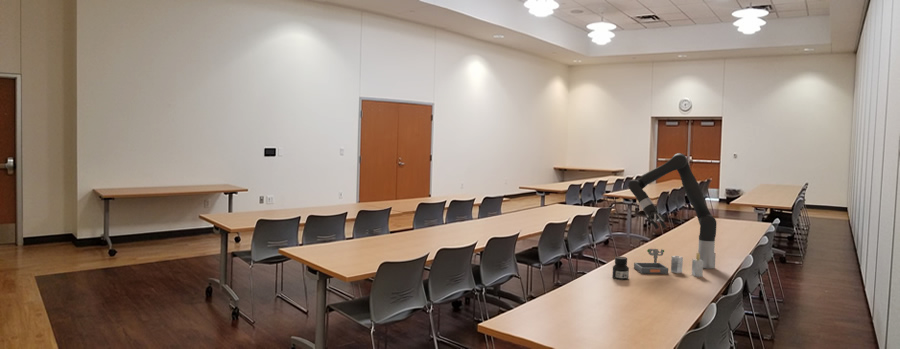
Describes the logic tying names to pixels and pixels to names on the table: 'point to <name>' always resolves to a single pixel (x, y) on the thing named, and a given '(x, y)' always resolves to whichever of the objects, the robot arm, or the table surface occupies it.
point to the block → (676, 264)
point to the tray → (651, 268)
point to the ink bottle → (620, 268)
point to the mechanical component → (655, 253)
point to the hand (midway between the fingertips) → (661, 228)
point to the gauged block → (697, 266)
